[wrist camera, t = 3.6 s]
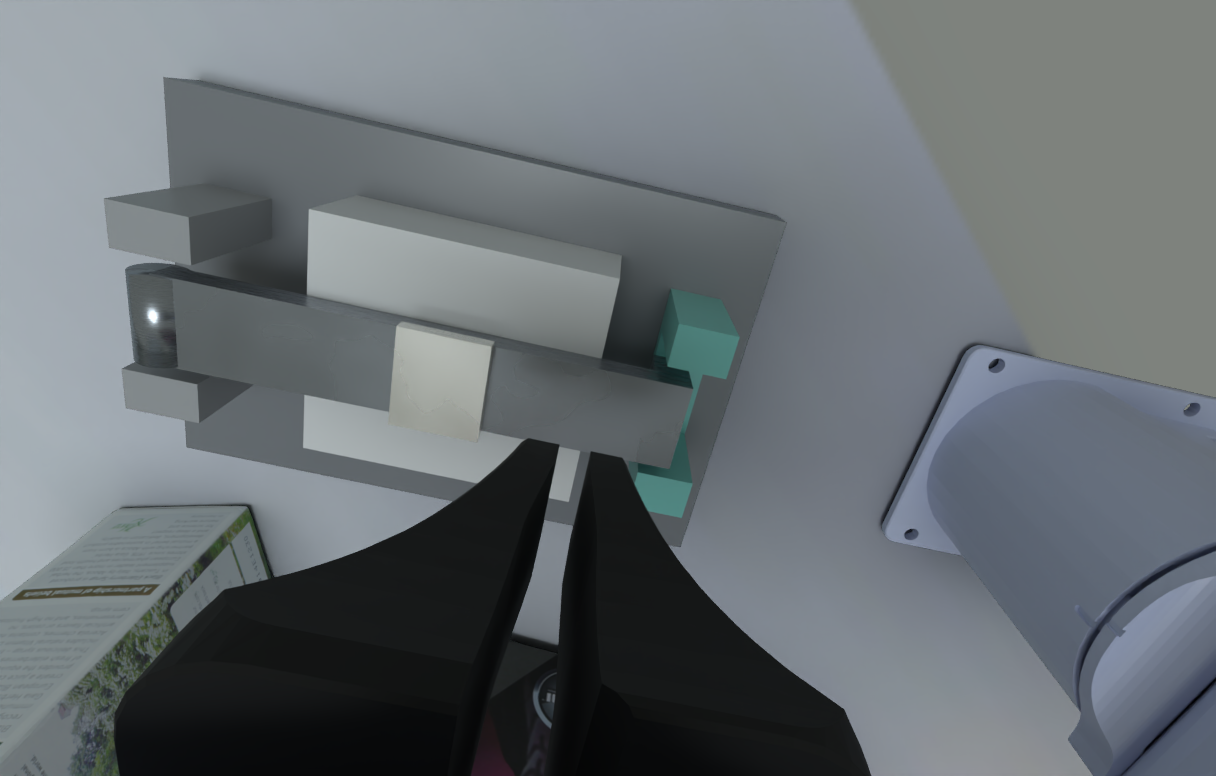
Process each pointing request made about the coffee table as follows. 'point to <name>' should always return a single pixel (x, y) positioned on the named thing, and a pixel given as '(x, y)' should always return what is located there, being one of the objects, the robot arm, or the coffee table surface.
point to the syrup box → (108, 627)
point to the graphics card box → (518, 714)
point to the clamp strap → (405, 366)
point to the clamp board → (471, 190)
